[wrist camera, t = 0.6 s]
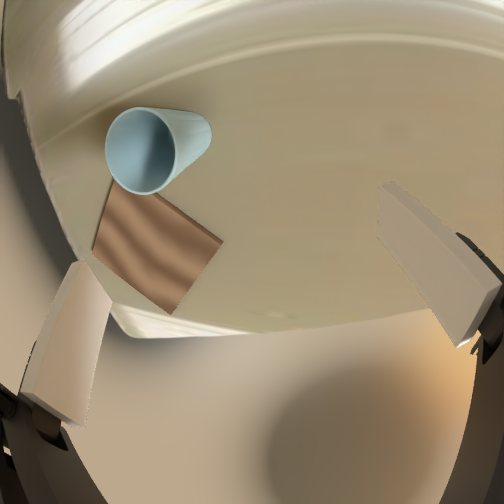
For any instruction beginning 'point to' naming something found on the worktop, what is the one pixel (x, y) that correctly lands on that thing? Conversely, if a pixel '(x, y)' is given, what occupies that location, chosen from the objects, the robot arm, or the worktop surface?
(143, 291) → the board
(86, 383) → the robot arm
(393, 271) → the worktop surface
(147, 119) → the cup
